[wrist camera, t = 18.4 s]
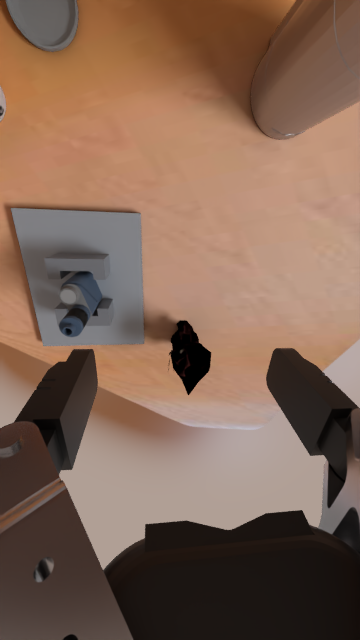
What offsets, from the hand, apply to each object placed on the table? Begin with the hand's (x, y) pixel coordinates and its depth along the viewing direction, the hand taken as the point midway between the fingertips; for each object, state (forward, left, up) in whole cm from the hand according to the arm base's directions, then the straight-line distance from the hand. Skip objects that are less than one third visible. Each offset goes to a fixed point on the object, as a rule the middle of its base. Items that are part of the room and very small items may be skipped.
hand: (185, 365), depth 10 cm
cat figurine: (+13, +4, -27) cm, 30 cm away
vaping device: (+4, -11, -26) cm, 28 cm away
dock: (+4, -11, -27) cm, 29 cm away
